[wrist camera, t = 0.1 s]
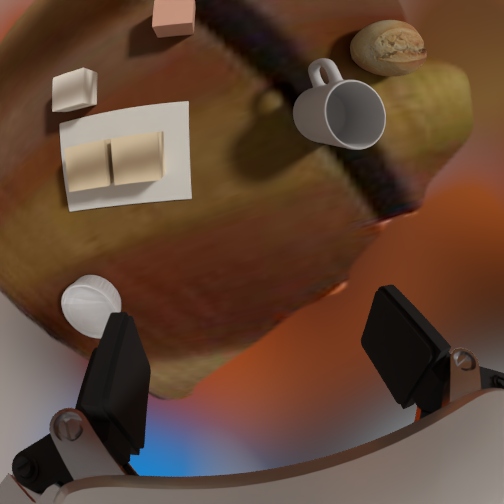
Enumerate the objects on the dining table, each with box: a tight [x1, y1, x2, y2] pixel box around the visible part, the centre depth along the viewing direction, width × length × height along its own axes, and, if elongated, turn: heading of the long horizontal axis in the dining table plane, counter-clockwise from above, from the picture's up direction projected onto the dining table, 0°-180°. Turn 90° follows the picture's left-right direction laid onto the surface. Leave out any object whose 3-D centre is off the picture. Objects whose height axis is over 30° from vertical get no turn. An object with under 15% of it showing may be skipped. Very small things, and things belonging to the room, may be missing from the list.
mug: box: [293, 58, 386, 150], centre depth 30 cm, size 12×8×11 cm
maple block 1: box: [64, 139, 114, 192], centre depth 30 cm, size 6×6×5 cm
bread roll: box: [350, 20, 427, 76], centre depth 27 cm, size 10×15×8 cm, turn 124°
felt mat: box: [60, 101, 192, 212], centre depth 33 cm, size 14×20×1 cm
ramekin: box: [61, 275, 121, 338], centre depth 40 cm, size 11×11×5 cm
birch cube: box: [52, 68, 97, 112], centre depth 26 cm, size 5×5×5 cm
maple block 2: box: [111, 131, 166, 185], centre depth 31 cm, size 6×6×5 cm
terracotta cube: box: [152, 0, 195, 38], centre depth 24 cm, size 5×5×5 cm
